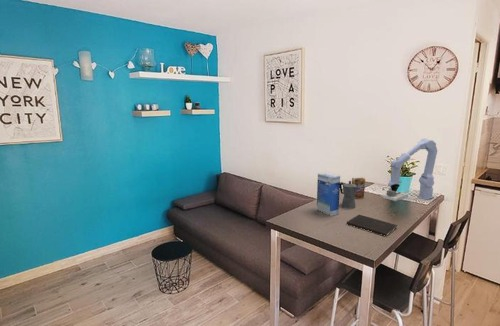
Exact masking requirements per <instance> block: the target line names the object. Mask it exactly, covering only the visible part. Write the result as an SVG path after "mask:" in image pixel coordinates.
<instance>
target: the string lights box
mask: <svg viewBox="0 0 500 326" xmlns="http://www.w3.org/2000/svg"><path fill="white" fill-rule="evenodd" d="M340 183H341V174H340V175H339V174H334V173H331V172H327V171H324V172H318V173H317V188H316V189H317V191H316V210H319V211H318V212H320V211H321V212H320V213H322V212H323V213H322V214H325V213H326V214H325V215H327V214H328V215H327V216H329V215H330V216H329V217H333V216H336V215H337V216H338V215H339V214H340V213H339V212H340V211H339V208H340V194H341V191H340Z"/></svg>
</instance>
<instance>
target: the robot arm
mask: <svg viewBox="0 0 500 326" xmlns="http://www.w3.org/2000/svg"><path fill="white" fill-rule="evenodd" d="M420 150H425V151H426V152H427V156H426V161H425V165H424V170H423V172H422V174H421V175H420V177H419V179H418V182H419V191H418V192H419V193H418V195H417V196H416V198H420V199H424V200H431V199H433V198H434V196H433V194H434V193H433V192H434V188H433V186H434V185H435V181H434V179H435V177H434V175H433V173H434V168H435V164H436V159H437V155H438V147H437V143H436V142H435V141H434V140H432V139H428V138H421V139H420V141H418V142H417V143H416V144H415V145H414V146H413V147H412V148H411V149H409V150H408V151H407V152H402V153H401V155H400V156H398V157H397V158H395V159H393V160H392V161H391V163H390V166H391V174H390V180H389V182H388V184H387V187H390V190H392V191H397V190H398V188H399V187H400V186H401V184H402V180H400V178H401V170H402V169H401V168H402V167H403V166H404V164H405V163H407V162H408V161H409V160H410V159H411V156H413V155H414V154H415V153H417V152H418V151H420ZM397 192H398V191H397Z"/></svg>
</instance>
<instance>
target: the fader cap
mask: <svg viewBox="0 0 500 326" xmlns="http://www.w3.org/2000/svg"><path fill="white" fill-rule="evenodd" d="M386 193H387V195H388V196H392V197H394V196H396V191H392V190H391V189H388V190H386Z"/></svg>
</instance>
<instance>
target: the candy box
mask: <svg viewBox="0 0 500 326" xmlns="http://www.w3.org/2000/svg"><path fill="white" fill-rule="evenodd" d="M351 184H355V185H357V187H358V189H357V190H356V192H355V195H354V198H355V199H364V197H365V188H366V178H365V177H352V178H351Z"/></svg>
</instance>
